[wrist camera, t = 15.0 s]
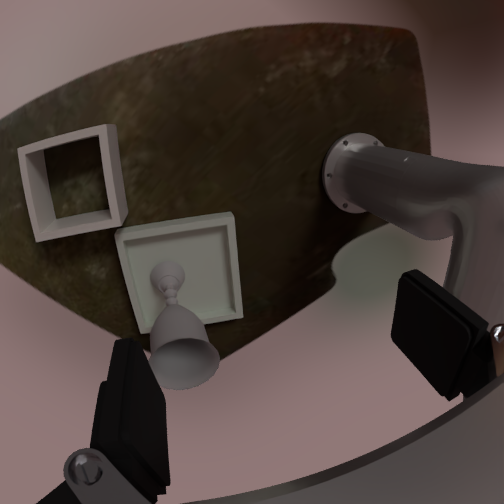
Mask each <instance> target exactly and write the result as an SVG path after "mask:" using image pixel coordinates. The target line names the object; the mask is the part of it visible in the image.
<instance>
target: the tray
mask: <svg viewBox="0 0 504 504" xmlns="http://www.w3.org/2000/svg"><path fill="white" fill-rule="evenodd" d="M114 236H115V241H116V245H117V250H118V254H119V258H120V262H121V266H122V270H123V274H124V278H125V282H126V285H127V289H128V293H129V296H130V300H131V303H132V307H133V310H134V313H135V317H136V320H137V323H138V326H139V330H140V333H141V334H144V333H150V332H151V329H152V327H153V325H154V323H155V320H156V318H157V317H158V316H159V314H160V313H161V312H162V311H163V310H164V308H165V307H167V306H166V304H165V302H166V299H165V298H164V294H163V293H161V292H160V291H159V290H157V289H156V288H155V287H154V286H153V285H152V282H151V279H150V278H151V272H152V269H153V268H154V267H155V266H156V265H157V264H159V263H161V262H164V261H173V262H176V263H178V264H179V265H181V267H182V268H183V269H184V272H185V280H184V283H183V284H182V286H181V288H180V289H179V290H178V291H177V297H176V299H177V300H178V304H179V305H181V306H183V307H185V308H187V309H188V310H190V311H192V312H193V313H194V314H195V315H196V316H197V317H198V318H199V319H200V320H201V321H202V323H203V324H209V323H215V322H221V321H226V320H232V319H238V318H243V309H242V299H241V288H240V277H239V266H238V255H237V244H236V233H235V221H234V216H233V214H232V213H231V212H224V213H217V214H209V215H202V216H195V217H189V218H182V219H175V220H169V221H162V222H156V223H150V224H144V225H138V226H132V227H126V228H120V229H117V231H116V232H115V234H114Z"/></svg>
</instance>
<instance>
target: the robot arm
mask: <svg viewBox="0 0 504 504" xmlns="http://www.w3.org/2000/svg"><path fill="white" fill-rule="evenodd" d="M343 142H344V144H343ZM327 174H328V176H327ZM322 180H323V186H324V189H325V192H326V194H327V196H328V198H329V199H330V200H331V201H332V203H333V204H334V205H336V206H337V207H338V208H340V209H342V210H344V211H346V212H349V213H363V212H366V211H368V212H370V213H372V214H374V215H376V216H378V217H380V218H382V219H384V220H386V221H388V222H390V223H392V224H394V225H396V226H398V227H400V228H402V229H403V230H405V231H407V232H409V233H411V234H413V235H415V236H417V237H419V238H421V239H425V240H440V239H444V238H447V237H449V236H452V235H453V241H452V247H451V255H450V260H449V264H448V268H447V272H446V277H445V281H444V284H443V287H441V286H440V285H439V284H437V283H436V282H434V281H433V280H432V279H430V278H429V277H428V276H426V275H425V274H423V273H422V272H420V271H419V270H417V269H414V270H411V271H408V272H405V273H403V274H402V276H401V278H400V279H399V282H398V290H397V298H396V305H395V311H394V318H393V324H392V330H391V338H392V341H393V342H394V343H395V344H396V345H397V346H398V348H399V349H400V350H401V351H402V352H403V353H404V354H405V356H407V358H408V359H409V360H410V361H411V362H412V363H413V365H414V366H415V367H416V368H417V369H418V370H419V371H420V372H421V373H422V375H423V376H424V377H425V378H426V379H427V380H428V382H429V383H430V384H431V385H432V386H433V387H434V388H435V390H436V391H437V392H438V393H439V394H440V395H441V396H445V397H446V399H447V400H448V401H451V400H452V399H454V398H455V397H457V396H458V395H459V394H460V392H461V393H462V394H463V402H461V403H460V404H458V405H457V406H455V407H454V408H452V409H450V410H449V411H447V412H446V413H444V414H443V415H441V416H439V417H437V418H436V419H434V420H432V421H430V422H429V423H427V424H426V425H424V426H422V427H420V428H418V429H416V430H414V431H412V432H411V433H409V434H407V435H405V436H403V437H401V438H399V439H397V440H395V441H393V442H391V443H389V444H387V445H385V446H383V447H381V448H378V449H376V450H374V451H372V452H370V453H367V454H365V455H362V456H360V457H358V458H355V459H353V460H350V461H348V462H345V463H343V464H340V465H338V466H335V467H332V468H329V469H327V470H324V471H321V472H318V473H315V474H312V475H309V476H306V477H303V478H299V479H296V480H293V481H290V482H286V483H282V484H279V485H275V486H271V487H267V488H263V489H259V490H254V491H250V492H245V493H241V494H236V495H231V496H226V497H221V498H215V499H209V500H202V501H195V502H189V503H183V504H504V167H501V166H490V165H477V164H470V163H462V162H458V161H453V160H447V159H443V158H438V157H433V156H428V155H424V154H419V153H414V152H409V151H404V150H399V149H393V148H388V147H384V145H383V144H382V143H381V142H380V141H379V140H378V139H376V138H375V137H373V136H371V135H368V134H364V133H352V134H347V135H345V136H343V137H341V138H340V139H338V140H337V141H336V142H335V143H334V144H333V145H332V146H331V148H330V149H329V151H328V152H327V154H326V157H325V159H324V163H323V168H322ZM63 471H64V477H65V479H66V480H65V481H64V482H63V483H61V484H60V485H59V486H58V487H57V488H56V489H54V490H53V491H52V492H50V493H49V494H48V495H46V496H45V497H44V498H43V499H41V500H40V501H39V502H38V503H36V504H155V503H156V502H157V501H158V500H157V495H163V494H166V486H170V471H169V458H168V443H167V424H166V402H165V397H164V394H163V392H162V390H161V388H160V386H159V384H158V382H157V379H156V377H155V375H154V373H153V371H152V369H151V366H150V364H149V362H148V360H147V357H146V355H145V353H144V351H143V348H142V346H141V344H140V342H139V341H134V339H133V338H125V339H119V340H116V341H115V343H114V347H113V352H112V357H111V361H110V366H109V371H108V377H107V381H103V382H102V383H101V384H100V388H99V393H98V398H97V404H96V409H95V415H94V422H93V428H92V435H91V442H90V448H84V449H79V450H77V451H76V452H74V453H72V454H71V455H70V456H69V458H68V459H67V461H66V462H65V465H64V470H63Z"/></svg>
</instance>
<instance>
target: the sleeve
mask: <svg viewBox="0 0 504 504" xmlns="http://www.w3.org/2000/svg"><path fill="white" fill-rule="evenodd" d="M97 136H99V141H100V149H101V157H102V164H103V171H104V178H105V184H106V190H107V196H108V202H109V207H110V209H106V210H100V211H95V212H90V213H85V214H80V215H75V216H70V217H66V218H61V219H56V217H55V212H54V208H53V203H52V198H51V193H50V188H49V182H48V177H47V171H46V164H45V157H44V150H46V149H49V148H53V147H56V146H60V145H64V144H68V143H71V142H75V141H79V140H84V139H88V138H92V137H97ZM17 149H18V156H19V163H20V170H21V176H22V182H23V187H24V192H25V197H26V202H27V207H28V211H29V216H30V220H31V224H32V228H33V232H34V235H35V239H36V242H40V241H45V240H50V239H55V238H60V237H65V236H70V235H75V234H80V233H85V232H91V231H96V230H102V229H107V228H113V227H118V226H122V224H123V222H124V220H125V218H126V216H127V214H128V208H127V202H126V196H125V190H124V184H123V177H122V170H121V163H120V155H119V147H118V138H117V129H116V125H111V124H104V125H100V126H95V127H91V128H87V129H83V130H79V131H75V132H71V133H67V134H63V135H60V136H56V137H52V138H49V139H46V140H42V141H39V142H36V143H33V144H29V145H26V146H23V147H20V148H17Z"/></svg>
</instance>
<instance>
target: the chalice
mask: <svg viewBox="0 0 504 504" xmlns="http://www.w3.org/2000/svg"><path fill="white" fill-rule="evenodd" d="M150 279H151V282H152V285H153V286H154V287H155V288H156V289H157V290H159V291H160V292H161V293H163V294H164V298H165V299H166V302H165V304H166V306H167V307H165V308H164V310H163V311H162V312H161V313H160V314H159V316H158V317H157V318H156V320H155V323H154V325H153V327H152V329H151V332H150V347H151V357H150V359H149V361H148V362H149V364H150V366H151V369H152V371H153V373H154V375H155V377H156V379H157V382H158V384H159V386H162V387H164V388H166V389H173V390H184V389H190V388H193V387H196V386H199V385H201V384H202V383H204V382H206V381H207V380H209V379H210V378H211V377H212V376H213V375H214V374H215V372H216V370H217V369H218V366H219V362H220V358H219V354H218V351H217V350H216V349H215V347H214V346H213V345H212V344H210V343H209V340H208V337H207V334H206V331H205V327H204V324H203V323H202V321H201V320H200V319H199V318H198V317H197V316H196V315H195V314H194V313H193V312H192V311H190V310H188V309H187V308H185V307H183V306H181V305H179V304H178V300H177V299H176V297H177V291H178V290H179V289H180V288H181V286H182V284H183V283H184V280H185V272H184V269H183V268H182V267H181V265H179V264H178V263H176V262H173V261H164V262H161V263H159V264H157V265H156V266H155V267H154V268H153V269H152V272H151V278H150Z"/></svg>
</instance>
